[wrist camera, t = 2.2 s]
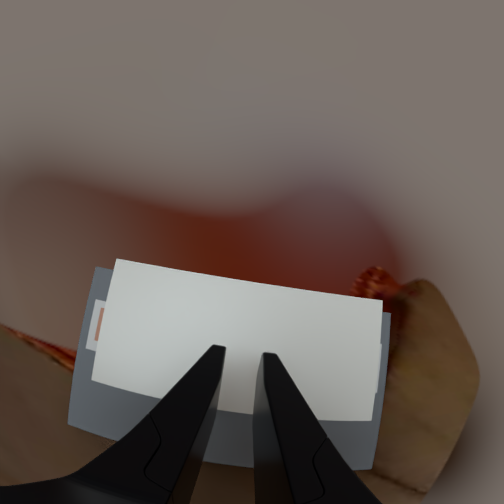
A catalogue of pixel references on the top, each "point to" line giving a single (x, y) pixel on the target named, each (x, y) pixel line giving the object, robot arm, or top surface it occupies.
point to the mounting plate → (226, 423)
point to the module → (238, 338)
